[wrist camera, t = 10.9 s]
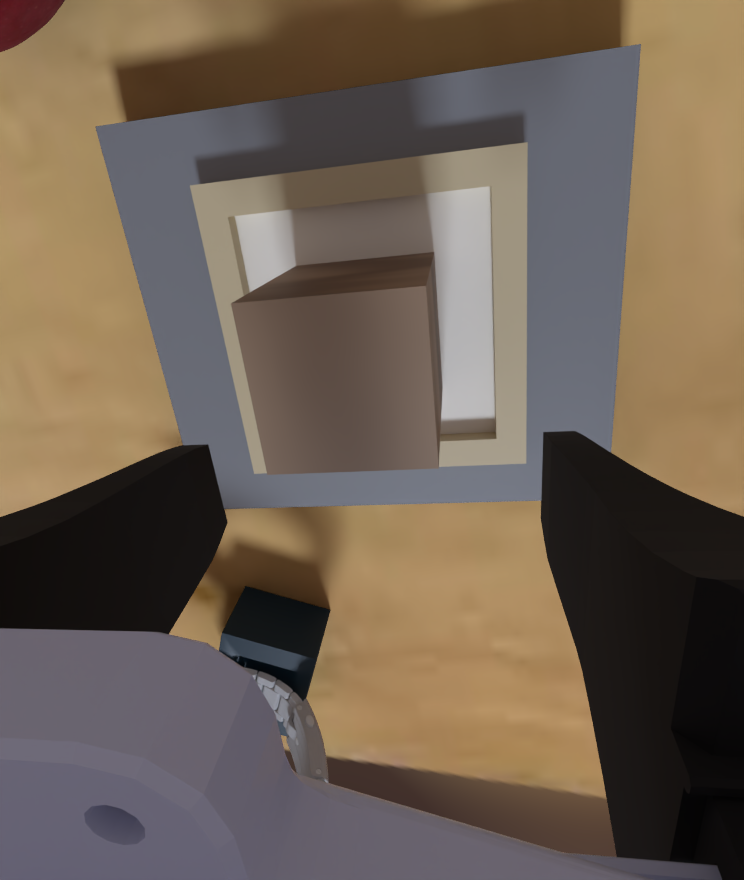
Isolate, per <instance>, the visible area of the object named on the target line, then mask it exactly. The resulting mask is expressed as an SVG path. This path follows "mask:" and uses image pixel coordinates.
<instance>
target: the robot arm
mask: <svg viewBox="0 0 744 880" xmlns="http://www.w3.org/2000/svg"><path fill="white" fill-rule="evenodd" d="M541 522H542V528H543V535H544V541H545V547H546V552H547V558H548V561H549V565H550V568H551V571H552V574H553V577H554V581H555V584H556V587H557V590H558V593H559V596H560V599H561V602H562V606H563V609H564V612H565V615H566V618H567V621H568V624H569V627H570V630H571V633H572V636H573V640H574V643H575V646H576V649H577V653H578V656H579V660H580V664H581V668H582V672H583V677H584V681H585V686H586V691H587V696H588V701H589V706H590V711H591V716H592V721H593V726H594V732H595V737H596V742H597V748H598V753H599V758H600V764H601V769H602V774H603V780H604V785H605V791H606V797H607V803H608V808H609V814H610V820H611V825H612V831H613V837H614V842H615V849H616V854H617V857H608V856H596V855H582V854H571V853H562V852H559V851H555V850H552V849H549V848H545V847H542V846H538V845H535V844H532V843H528V842H525V841H522V840H518V839H515V838H512V837H508V836H505V835H501V834H498V833H495V832H491V831H488V830H485V829H481V828H478V827H474V826H471V825H468V824H464V823H461V822H457V821H454V820H451V819H447V818H444V817H441V816H437V815H434V814H430V813H427V812H424V811H420V810H417V809H414V808H410V807H407V806H404V805H400V804H397V803H393V802H390V801H387V800H383V799H380V798H376V797H373V796H370V795H366V794H363V793H359V792H356V791H353V790H350V789H346V788H343V787H339V786H336V785H332V784H329V783H326V782H323V781H319V780H316V779H312V778H309V777H306V776H301V775H298V774H296V773H295V772H294V771H293V770H292V769H291V767H290V765H289V762H288V760H287V758H286V755H285V751H284V747H283V743H282V739H281V735H280V731H279V727H278V723H277V719H276V715H275V713H274V711H273V709H272V708H271V706H270V704H269V703H268V701H267V699H266V698H265V696H264V694H263V693H262V691H261V689H260V688H259V686H258V684H257V683H256V681H255V679H254V678H253V676H252V675H251V674H250V672H249V671H248V670H246V669H245V668H243V667H242V666H240V665H239V664H237V663H236V662H234V661H233V660H231V659H230V658H228V657H227V656H226V655H224V654H223V653H221V652H220V651H218V650H217V649H215V648H214V647H212V646H211V645H209V644H208V643H204V642H200V641H196V640H191V639H187V638H182V637H178V636H174V635H169V633H170V631H171V629H172V628H173V626H174V624H175V623H176V621H177V619H178V618H179V616H180V614H181V613H182V611H183V609H184V608H185V606H186V604H187V603H188V601H189V599H190V598H191V596H192V594H193V593H194V591H195V589H196V588H197V586H198V584H199V582H200V581H201V579H202V577H203V576H204V574H205V572H206V571H207V569H208V567H209V565H210V563H211V562H212V560H213V558H214V556H215V553H216V551H217V548H218V546H219V544H220V541H221V539H222V536H223V533H224V530H225V528H226V525H227V519H226V514H225V510H224V506H223V502H222V498H221V494H220V490H219V486H218V482H217V478H216V474H215V470H214V466H213V462H212V458H211V453H210V449H209V445H208V444H204V445H182V446H178V447H174V448H171V449H168V450H165V451H163V452H160V453H158V454H155V455H153V456H150V457H148V458H146V459H143V460H141V461H139V462H137V463H134V464H132V465H130V466H128V467H125V468H123V469H121V470H119V471H117V472H114V473H112V474H110V475H108V476H105V477H103V478H101V479H99V480H96V481H94V482H92V483H89V484H87V485H84V486H82V487H80V488H77V489H75V490H72V491H70V492H68V493H65V494H63V495H61V496H58V497H56V498H53V499H51V500H48V501H45V502H43V503H40V504H37V505H35V506H32V507H29V508H26V509H23V510H20V511H17V512H14V513H11V514H8V515H5V516H2V517H0V880H744V517H743V516H740V515H737V514H734V513H732V512H729V511H726V510H723V509H721V508H718V507H716V506H713V505H711V504H709V503H706V502H704V501H701V500H699V499H697V498H694V497H692V496H689V495H687V494H685V493H683V492H681V491H678V490H676V489H674V488H672V487H670V486H668V485H666V484H665V483H663V482H661V481H659V480H657V479H655V478H653V477H651V476H649V475H647V474H646V473H644V472H642V471H640V470H639V469H637V468H635V467H633V466H632V465H630V464H628V463H627V462H625V461H623V460H622V459H620V458H619V457H617V456H615V455H614V454H612V453H611V452H609V451H607V450H606V449H604V448H603V447H601V446H600V445H598V444H597V443H595V442H593V441H592V440H590V439H589V438H587V437H586V436H584V435H582V434H580V433H578V432H576V431H559V432H543V460H542V497H541Z"/></svg>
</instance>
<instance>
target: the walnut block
mask: <svg viewBox="0 0 744 880" xmlns="http://www.w3.org/2000/svg"><path fill="white" fill-rule="evenodd" d="M231 307H232V311H233V316H234V321H235V325H236V330H237V335H238V339H239V344H240V349H241V354H242V358H243V363H244V368H245V372H246V377H247V382H248V387H249V391H250V396H251V401H252V405H253V410H254V415H255V419H256V424H257V429H258V434H259V438H260V443H261V448H262V452H263V457H264V462H265V466H266V471H267V475H278V474H305V473H332V472H359V471H387V470H414V469H439V452H440V431H441V411H442V390H443V386H442V369H441V353H440V337H439V321H438V304H437V288H436V272H435V256H434V252H429V253H419V254H409V255H399V256H389V257H379V258H369V259H359V260H349V261H339V262H329V263H319V264H309V265H299V266H295V267H293V268H291V269H290V270H288V271H286V272H284V273H283V274H281V275H279V276H278V277H276V278H274V279H272V280H271V281H269V282H267V283H265V284H264V285H262V286H260V287H258V288H257V289H255V290H253V291H252V292H250V293H248V294H246V295H245V296H243V297H241V298H239V299H238V300H236V301H234V302H232V303H231Z"/></svg>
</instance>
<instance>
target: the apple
mask: <svg viewBox="0 0 744 880" xmlns="http://www.w3.org/2000/svg"><path fill="white" fill-rule="evenodd" d="M64 1H65V0H0V52H2V51H5V50H8V49H10V48H12V47H14V46H17V45H18V44H20V43H22V42H23V41H25V40H26V39H28V38H29V37H30V36H32V35H33V34H35V33H36V32H37V31H38V30H39V29H41V28H42V27H43V26H44V25H45V24H46V23H48V22H49V21H50V19H51V18H52V17H53V16H54V15H55V13H56V12H57V11H58V9H59V8H60V7H61V5H62V4H63V2H64Z"/></svg>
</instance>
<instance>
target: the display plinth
mask: <svg viewBox="0 0 744 880" xmlns="http://www.w3.org/2000/svg"><path fill="white" fill-rule="evenodd" d="M640 48H641V44H638V45H632V46H625V47H619V48H612V49H605V50H599V51H592V52H586V53H579V54H572V55H566V56H559V57H553V58H546V59H539V60H533V61H526V62H519V63H513V64H506V65H500V66H493V67H486V68H480V69H473V70H467V71H460V72H453V73H447V74H440V75H434V76H427V77H420V78H414V79H407V80H400V81H394V82H387V83H381V84H374V85H367V86H361V87H354V88H348V89H341V90H334V91H328V92H321V93H315V94H308V95H301V96H295V97H288V98H282V99H275V100H268V101H262V102H255V103H248V104H242V105H235V106H229V107H222V108H215V109H209V110H202V111H196V112H189V113H182V114H176V115H169V116H163V117H156V118H149V119H143V120H136V121H130V122H123V123H116V124H110V125H103V126H96V131H97V134H98V138H99V142H100V145H101V149H102V153H103V156H104V160H105V163H106V167H107V171H108V174H109V178H110V181H111V185H112V189H113V192H114V196H115V200H116V203H117V207H118V210H119V214H120V218H121V221H122V225H123V229H124V232H125V236H126V239H127V243H128V247H129V250H130V254H131V258H132V261H133V265H134V268H135V272H136V276H137V279H138V283H139V287H140V290H141V294H142V297H143V301H144V305H145V308H146V312H147V316H148V319H149V323H150V326H151V330H152V334H153V337H154V341H155V345H156V348H157V352H158V355H159V359H160V363H161V366H162V370H163V374H164V377H165V381H166V384H167V388H168V392H169V395H170V399H171V402H172V406H173V410H174V413H175V417H176V421H177V424H178V428H179V431H180V435H181V439H182V442H183V445H204V444H208V445H209V449H210V453H211V458H212V462H213V466H214V470H215V474H216V478H217V482H218V486H219V490H220V494H221V498H222V502H223V506H224V509H240V508H278V507H315V506H352V505H389V504H427V503H464V502H501V501H538V500H541V497H542V460H543V432H559V431H576V432H578V433H580V434H582V435H584V436H586V437H587V438H589V439H590V440H592V441H593V442H595V443H597V444H598V445H600V446H601V447H603V448H604V449H606V450H607V451H609V452H611V444H612V431H613V417H614V403H615V390H616V376H617V362H618V349H619V335H620V321H621V308H622V294H623V280H624V267H625V253H626V239H627V226H628V212H629V199H630V185H631V171H632V158H633V144H634V130H635V117H636V103H637V89H638V76H639V62H640ZM429 252H434V256H435V272H436V288H437V304H438V321H439V337H440V353H441V369H442V386H443V390H442V411H441V431H440V452H439V469H414V470H387V471H359V472H332V473H305V474H278V475H267V471H266V466H265V462H264V457H263V452H262V448H261V443H260V438H259V434H258V429H257V424H256V419H255V415H254V410H253V405H252V401H251V396H250V391H249V387H248V382H247V377H246V372H245V368H244V363H243V358H242V354H241V349H240V344H239V339H238V335H237V330H236V325H235V321H234V316H233V311H232V307H231V303H232V302H234V301H236V300H238V299H239V298H241V297H243V296H245V295H246V294H248V293H250V292H252V291H253V290H255V289H257V288H258V287H260V286H262V285H264V284H265V283H267V282H269V281H271V280H272V279H274V278H276V277H278V276H279V275H281V274H283V273H284V272H286V271H288V270H290V269H291V268H293V267H295V266H299V265H309V264H319V263H329V262H339V261H349V260H359V259H369V258H379V257H389V256H399V255H409V254H419V253H429Z"/></svg>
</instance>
